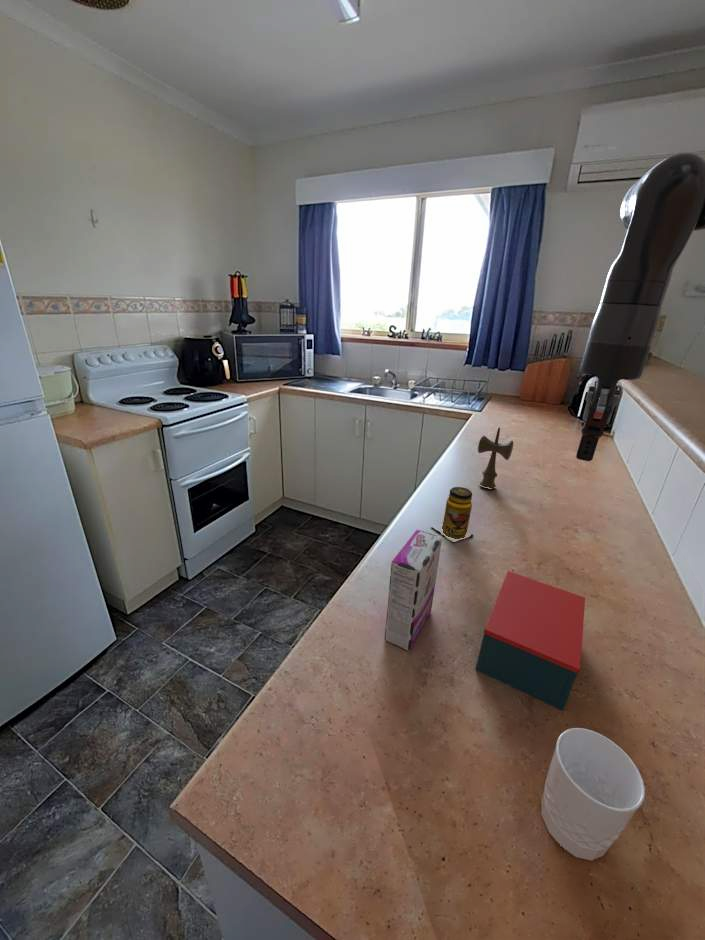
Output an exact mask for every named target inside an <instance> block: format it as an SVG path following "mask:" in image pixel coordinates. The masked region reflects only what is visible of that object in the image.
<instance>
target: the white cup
mask: <svg viewBox="0 0 705 940" xmlns="http://www.w3.org/2000/svg"><path fill="white" fill-rule="evenodd" d="M645 787H646V786H645V783H644V779H643V777H642V774H641V772H640V770H639V769H638V767H637V766H636V764H635V762H634V761H633V760H632V758H631V757H630V756H629V755H628V754H627V753H626V752H625V750H623V749H622V748H621V747H620V746H619V745H617V743H615V742H614V741H613V740H611V739H609V738H608V737H606V736H604V735H603V734H601V733H599V732H597V731H594V730H592V729H589V728H582V727H574V728H573V727H571V728H568V729H566V730H564V731H563V732H562V733H561V734H560V735H559V736H558V738H557V740H556V744H555V748H554V750H553V755H552V757H551V760H550V763H549V767H548V771H547V775H546V779H545V782H544V787H543V792H542V795H541V798H540V813H541V814H540V815H541V817H542V819H543V822H544V824H545V827H546V829H547V831H548V833H549V834H550V836H551V837H552V838H553V839H554V840H555V841H556V843H557V842H558V843H557V844H558V845H559V844H560V845H559V847H561V846H562V847H563V848H564V849H563V848H562V847H561V848H562V849H563V850H565V851H566V850H567V851H566V852H568V853H569V854H571V855H572V856H574V857H575V858H577V859H581V860H586V861H591V862H592V861H595V860H597V859H599V858H602V857H603V856H604V855H605V854H606V853H607V851H608V850H609V848H610V846H612V845H613V844H614V843H615V842H616V841H617V840H618V838H619V836H620V835H621V834H622V833H623V832H624V830H625V829H626V827H627V826H628V825H629V823H630V821H631V820H632V819H633V817H634V816H635V814H636V813H637V811H638V810H639V808H640V807H641V806H642V804H643V802H644V800H645V795H646V789H645Z"/></svg>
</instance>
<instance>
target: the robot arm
mask: <svg viewBox="0 0 705 940" xmlns="http://www.w3.org/2000/svg"><path fill="white" fill-rule="evenodd" d="M619 217H620V220H621V223H622V225H623V226H624V228H625V229H626V230H627V231H626V235H625V237H624V241H623V244H622V247H621V251H620V252H619V254H618V255H617V257H616V258H615V259H614V260H613V262H612V264H611V265H610V268H609V270H608V273H607V276H606V279H605V283H604V286H603V289H602V293H601V296H600V297H601V298H600V301H599V305H598V307H597V310H596V312H595V315H594V318H593V320H592V322H591V326H590V331H589V334H588V338H587V341H586V345H585V348H584V353H583V356H582V359H581V363H580V367H579V371H580V372H581V374H583V375H586V376H591V377H596V378H597V381H596V384H595V386H592V385H589V386H588V390H587V394H586V397H585V401H586V404H585V408H584V411H583V415H582V420H583V426H582V427H581V431H580V433H581V437H580V441H579V444H578V448H577V451H576V455H575V458H576V459H577V460H580V461H586V462H591V461H593V459H594V456H595V452H596V450H597V446H598V443H599V439H601V438H602V436H604V433H605V431H604V430H605V428H606V426H607V425H608V424H609V423H610V421H611V418H612V417H613V416H612V415H613V412H614V409H615V407H616V406H617V405H618V404H619V401H620V397H621V389H617V384H618V382H619V381H621V380H624V381H634V380H639V379H641V377H642V375H643V373H644V369H645V368H646V367H645V366H646V363H647V360H648V358H649V355H650V352H651V349H652V345H653V342H654V340H655V336H656V333H657V330H658V327H659V322H660V319H661V312H662V306H663V305H664V301H665V298H666V296H667V292H668V289H669V286H670V283H671V281H672V277H673V273H674V269H675V267H676V264H677V263H678V260H679V259H680V257H681V255H682V253H683V252H684V250H685V249H686V247H687V244H688V242H689V241H690V238H691V236H692V235H693V232H697V231H703V230H705V159H704V157H702V156H701V155H699V154H696V153H692V152H681V153H676V154H674V155H673V154H672V155H670V156H668V157H666V158H664V159H662V160H661V161H660V162H658V163H656V164H655V165H654V166H653V167H651V169H649V170H648V171H647V172H646V173H644V175H642V176H641V177H640V178H638V179H637V180H636V181H635V182H634V183H633V184H632V185H631V187H630V188H629V189H628V190H627V192H626V193H625V195H624V197H623V199H622V201H621V204H620V209H619Z"/></svg>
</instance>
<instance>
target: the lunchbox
mask: <svg viewBox="0 0 705 940" xmlns="http://www.w3.org/2000/svg"><path fill="white" fill-rule="evenodd" d="M475 670H476V671H478V672H480V673H482V674H484V675H487V676H488V677H491V678H492V679H495V680H497V681H499V682H501V683H503V684H506V685H508V686H509V687H512V688H514V689H516V690H518V691H520V692H523V693H525V694H526V695H528V696H531V697H533V698H535V699H537V700H540V701H541V702H544V703H546V704H547V705H550V706H553V707H554V708H557V709H559V710H561V711H565V708H566V706H567V705H566V704H567V702H568V700H569V697H570V694H571V691H572V689H573V687H574V684H575V681H576V678H577V676H578V673H575V672H573V671H571V670H568V669H566V668H564V667H561V666H559V665H557V664H554V663H552V662H550V661H547V660H545V659H543V658H540V657H538V656H536V655H533V654H531V653H529V652H526V651H524V650H522V649H519V648H517V647H515V646H512V645H510V644H507V643H505V642H503V641H500V640H498V639H496V638H493V637H491V636H489V635H486V634H484V633H483V636H482V641H481V645H480V649H479V653H478V657H477V662H476V666H475Z"/></svg>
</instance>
